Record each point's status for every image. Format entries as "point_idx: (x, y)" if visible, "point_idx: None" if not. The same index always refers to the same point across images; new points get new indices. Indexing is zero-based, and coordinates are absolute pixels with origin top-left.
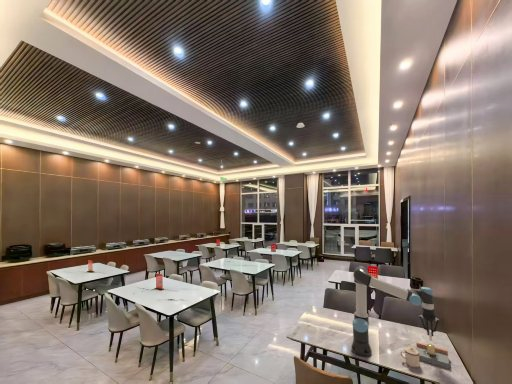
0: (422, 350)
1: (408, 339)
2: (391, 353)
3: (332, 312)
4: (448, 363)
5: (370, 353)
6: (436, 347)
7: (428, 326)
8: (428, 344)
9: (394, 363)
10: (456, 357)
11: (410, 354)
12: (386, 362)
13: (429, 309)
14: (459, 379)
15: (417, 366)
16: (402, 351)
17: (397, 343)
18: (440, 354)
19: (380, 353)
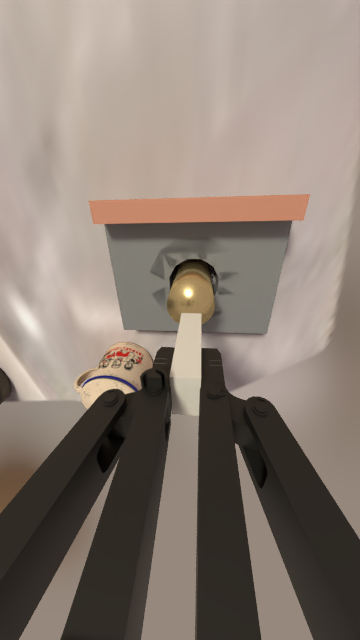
0: (145, 265)
1: (5, 9)
2: (44, 331)
3: None
4: (265, 331)
5: (4, 391)
6: (229, 203)
7: (159, 498)
8: (174, 299)
9: None
10: (354, 126)
11: None
12: (64, 393)
13: None
14: (279, 370)
15: None
16: (79, 392)
17: (2, 195)
18: (242, 248)
19: (19, 354)
